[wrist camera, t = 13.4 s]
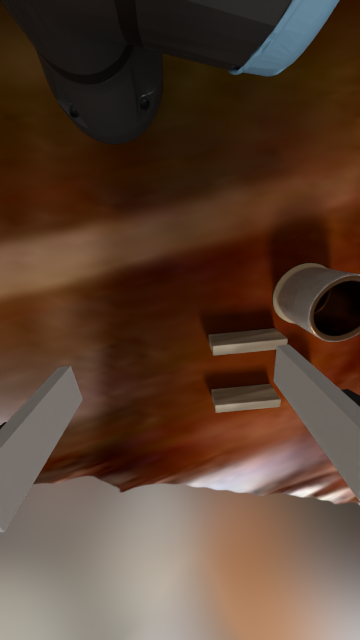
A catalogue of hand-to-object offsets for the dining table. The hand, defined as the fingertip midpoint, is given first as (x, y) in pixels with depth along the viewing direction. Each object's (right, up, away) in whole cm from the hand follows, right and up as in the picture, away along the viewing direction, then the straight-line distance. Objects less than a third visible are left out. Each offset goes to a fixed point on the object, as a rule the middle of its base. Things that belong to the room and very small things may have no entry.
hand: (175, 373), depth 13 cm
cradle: (+14, -7, +32) cm, 35 cm away
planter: (+25, +9, +26) cm, 37 cm away
